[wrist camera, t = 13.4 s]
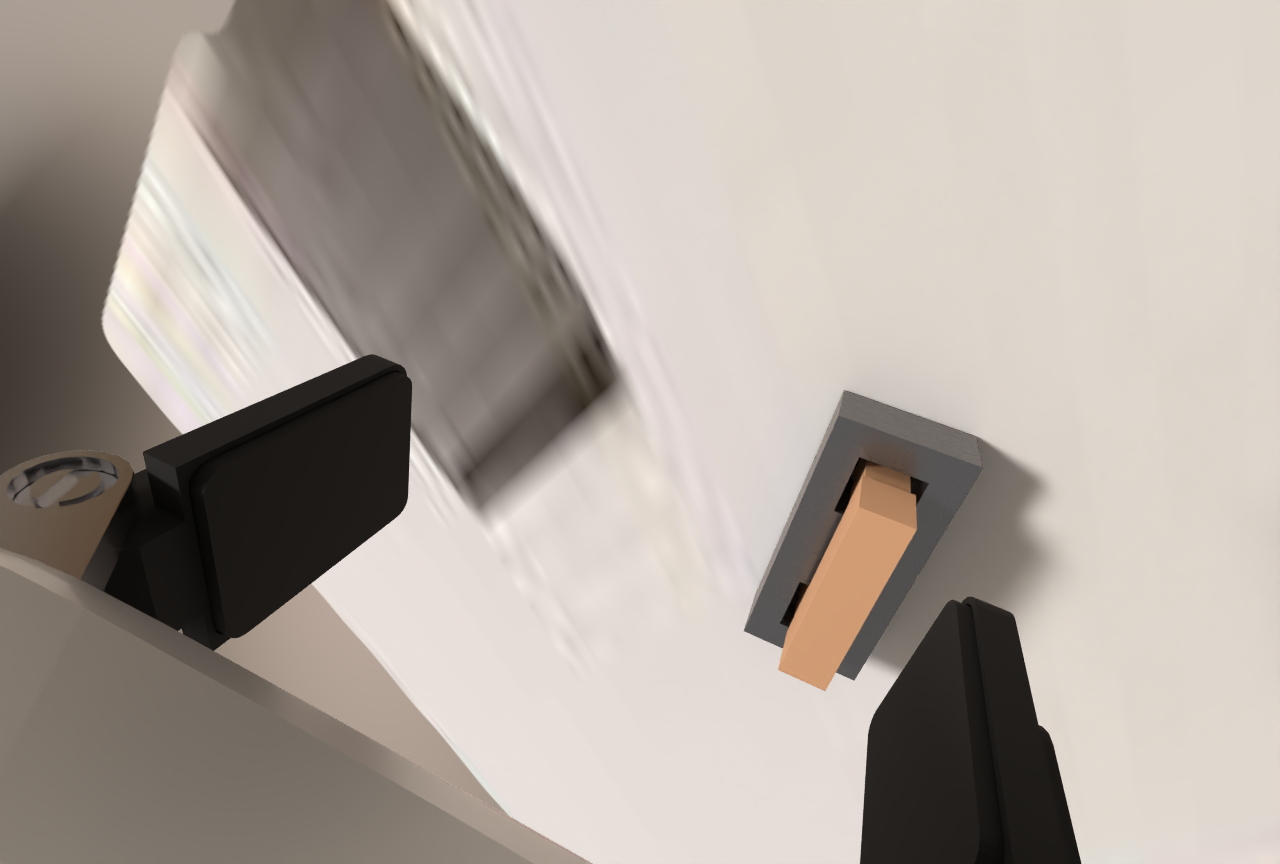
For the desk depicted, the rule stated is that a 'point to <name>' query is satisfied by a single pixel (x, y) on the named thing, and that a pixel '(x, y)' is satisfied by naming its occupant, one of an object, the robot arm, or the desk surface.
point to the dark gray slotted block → (855, 430)
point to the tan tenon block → (850, 573)
